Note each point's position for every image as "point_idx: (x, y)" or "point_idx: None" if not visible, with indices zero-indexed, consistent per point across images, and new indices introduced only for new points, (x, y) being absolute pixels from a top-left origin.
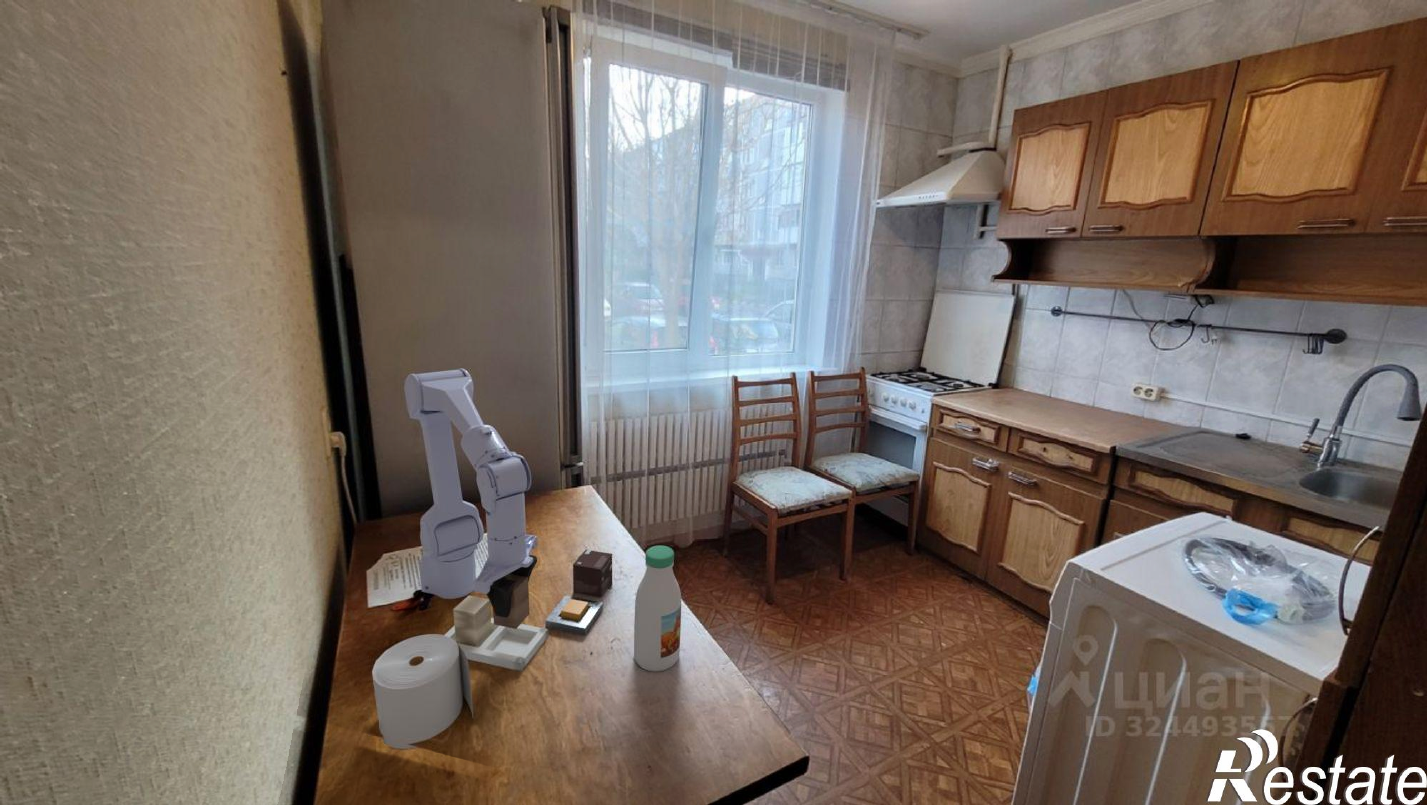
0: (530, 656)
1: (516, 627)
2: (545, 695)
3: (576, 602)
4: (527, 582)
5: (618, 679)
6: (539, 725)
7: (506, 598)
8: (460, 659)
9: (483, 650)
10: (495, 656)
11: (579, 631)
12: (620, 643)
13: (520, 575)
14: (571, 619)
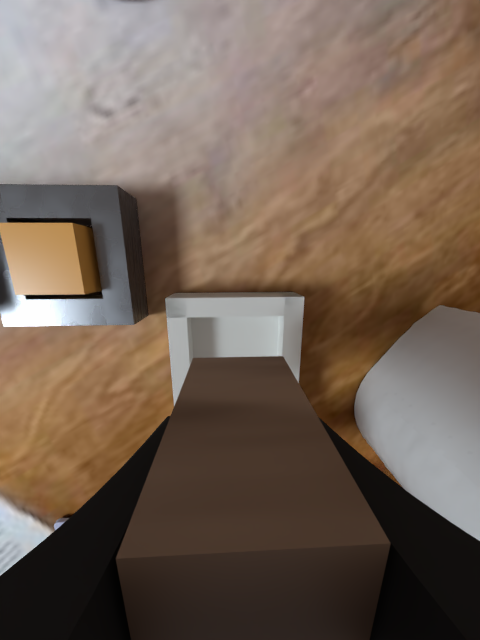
0: (257, 295)
1: (280, 358)
2: (334, 208)
3: (21, 264)
4: (150, 497)
5: (243, 21)
6: (414, 177)
7: (458, 529)
8: (473, 426)
9: None
10: (297, 366)
11: (127, 210)
12: (104, 79)
13: (119, 620)
14: (97, 251)
